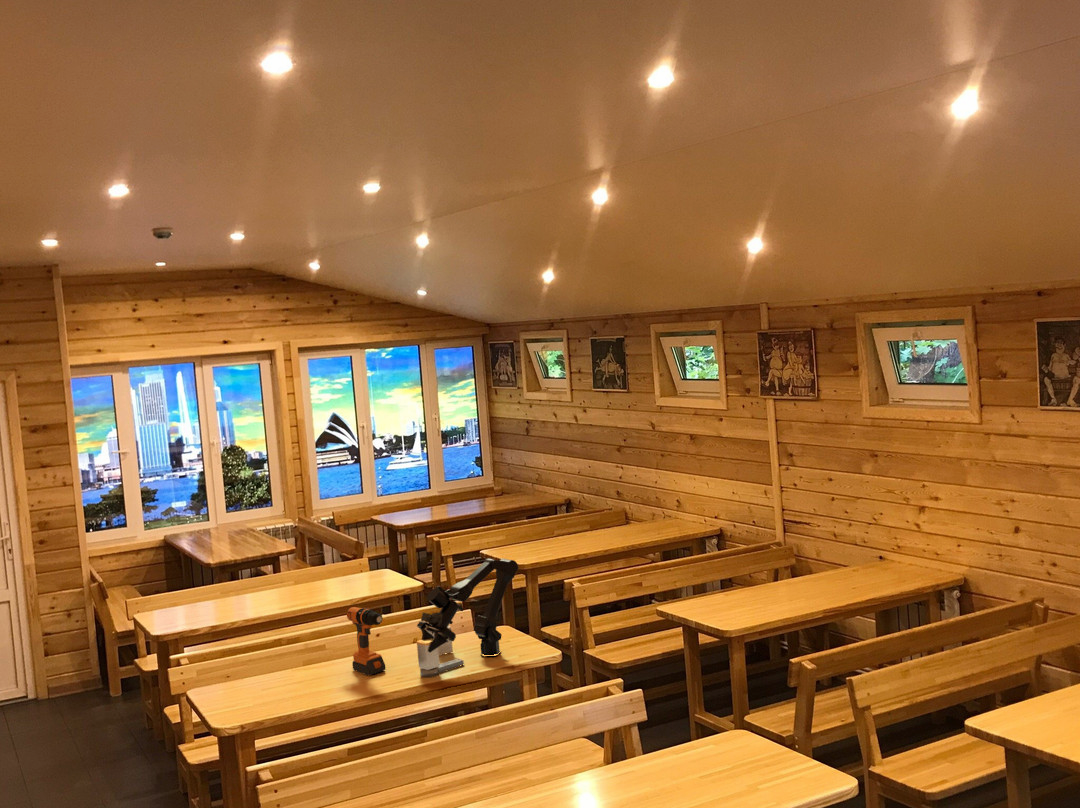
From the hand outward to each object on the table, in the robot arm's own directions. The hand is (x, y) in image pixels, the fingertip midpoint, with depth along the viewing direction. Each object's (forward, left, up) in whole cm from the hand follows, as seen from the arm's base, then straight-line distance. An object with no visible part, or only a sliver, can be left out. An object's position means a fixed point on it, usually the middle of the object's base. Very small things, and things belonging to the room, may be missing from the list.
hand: (424, 650), depth 387 cm
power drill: (+24, -2, -10) cm, 26 cm away
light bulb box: (+7, -29, -10) cm, 32 cm away
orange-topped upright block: (-1, -1, -7) cm, 7 cm away
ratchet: (-4, -6, -9) cm, 12 cm away
